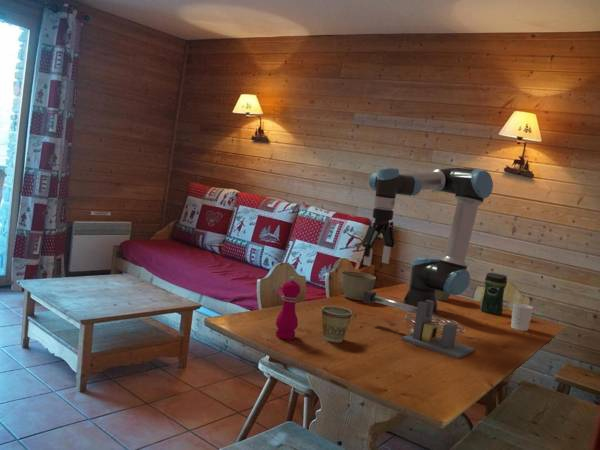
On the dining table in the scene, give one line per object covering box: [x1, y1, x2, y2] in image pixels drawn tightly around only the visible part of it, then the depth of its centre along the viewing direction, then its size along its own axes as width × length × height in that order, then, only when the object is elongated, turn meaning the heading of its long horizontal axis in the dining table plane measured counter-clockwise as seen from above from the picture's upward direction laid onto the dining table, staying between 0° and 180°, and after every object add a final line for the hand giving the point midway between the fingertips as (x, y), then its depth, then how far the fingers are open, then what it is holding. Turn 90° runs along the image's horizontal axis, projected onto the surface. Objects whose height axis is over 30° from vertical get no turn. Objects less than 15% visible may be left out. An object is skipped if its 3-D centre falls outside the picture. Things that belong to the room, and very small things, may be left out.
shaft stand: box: [400, 300, 475, 359], centre depth 184 cm, size 21×14×14 cm, turn 51°
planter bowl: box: [340, 270, 377, 301], centre depth 242 cm, size 16×16×11 cm
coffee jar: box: [480, 272, 508, 316], centre depth 248 cm, size 10×8×19 cm
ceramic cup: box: [321, 305, 357, 343], centre depth 177 cm, size 13×10×10 cm
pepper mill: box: [275, 276, 301, 340], centre depth 172 cm, size 7×7×20 cm
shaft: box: [362, 290, 417, 315], centre depth 196 cm, size 22×4×4 cm, turn 51°
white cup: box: [510, 302, 534, 332], centre depth 224 cm, size 8×8×10 cm
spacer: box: [421, 320, 440, 343], centre depth 187 cm, size 3×6×6 cm, turn 141°
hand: (376, 264), depth 201 cm, fingers open, 13 cm apart
